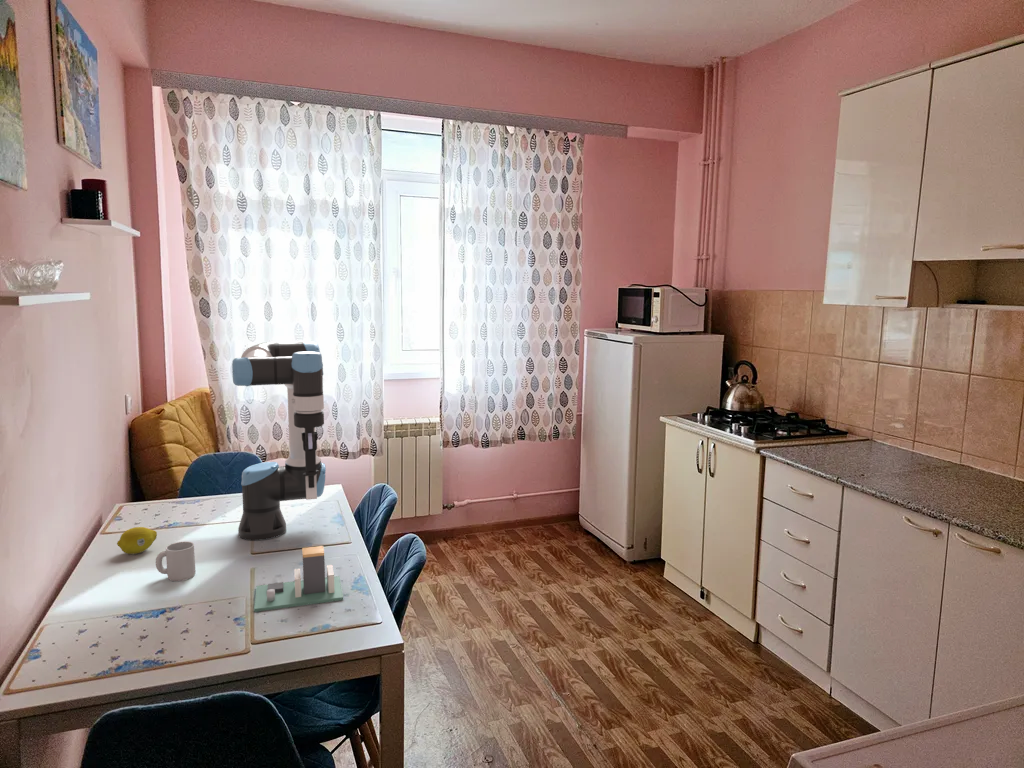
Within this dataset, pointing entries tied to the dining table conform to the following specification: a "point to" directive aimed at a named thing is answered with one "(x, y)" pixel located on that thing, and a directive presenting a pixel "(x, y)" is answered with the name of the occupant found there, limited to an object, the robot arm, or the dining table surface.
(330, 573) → the board
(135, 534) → the lemon
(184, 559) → the cup
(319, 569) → the plug
